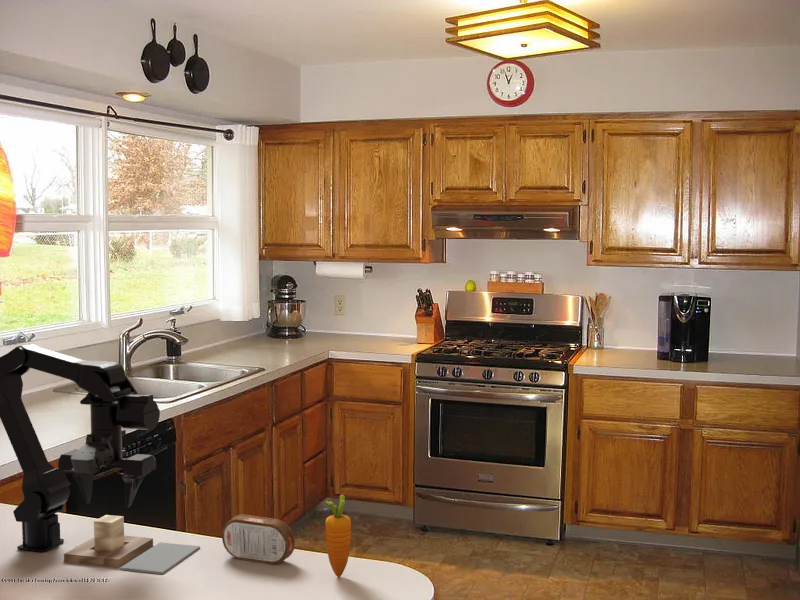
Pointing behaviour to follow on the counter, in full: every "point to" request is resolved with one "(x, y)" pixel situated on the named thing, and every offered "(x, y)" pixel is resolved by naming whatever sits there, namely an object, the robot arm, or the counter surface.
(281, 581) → the counter surface
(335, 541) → the carrot
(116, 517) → the block
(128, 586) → the counter surface
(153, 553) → the mat
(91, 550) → the pocket board
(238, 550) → the tin
